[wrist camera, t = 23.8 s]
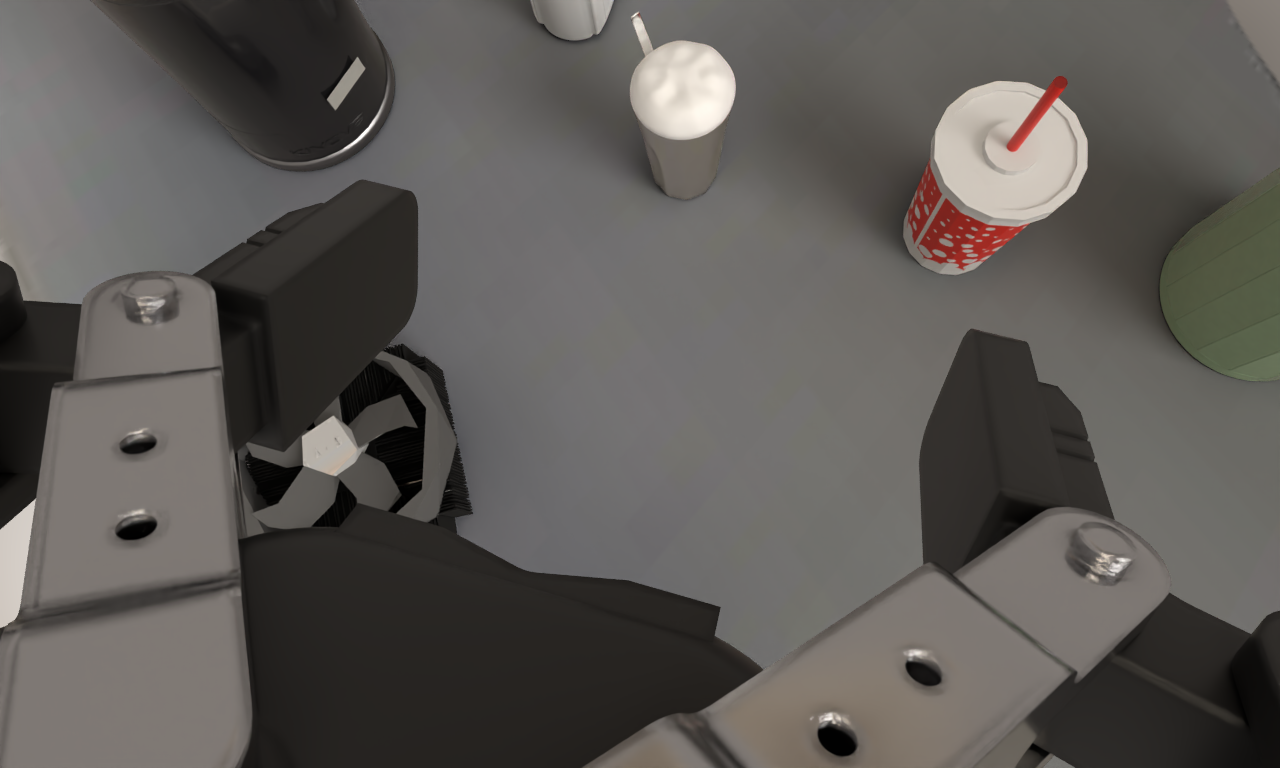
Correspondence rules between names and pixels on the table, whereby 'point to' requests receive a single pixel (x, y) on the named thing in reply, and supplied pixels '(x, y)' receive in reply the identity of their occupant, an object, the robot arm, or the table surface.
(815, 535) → the table surface
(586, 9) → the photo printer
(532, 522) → the table surface
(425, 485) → the cpu cooler
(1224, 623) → the robot arm
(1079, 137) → the beverage cup
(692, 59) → the milkshake
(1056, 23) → the table surface
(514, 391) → the table surface
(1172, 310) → the pen pot
